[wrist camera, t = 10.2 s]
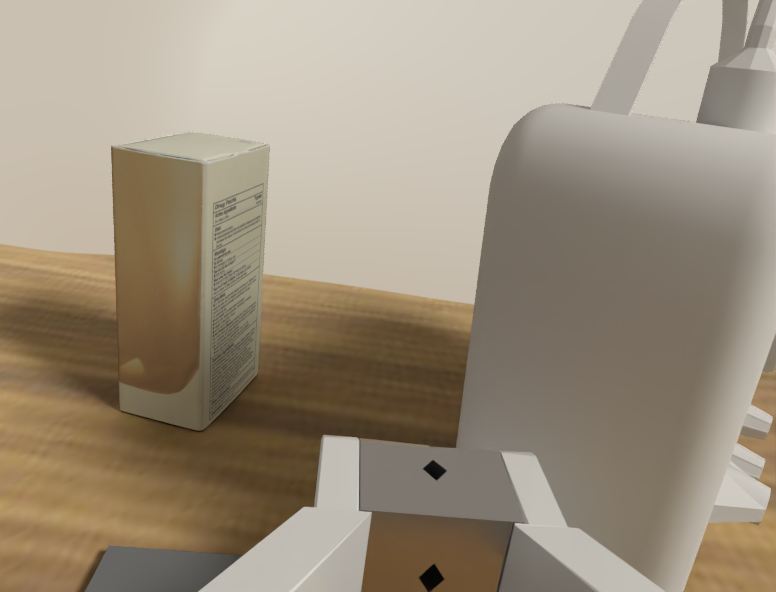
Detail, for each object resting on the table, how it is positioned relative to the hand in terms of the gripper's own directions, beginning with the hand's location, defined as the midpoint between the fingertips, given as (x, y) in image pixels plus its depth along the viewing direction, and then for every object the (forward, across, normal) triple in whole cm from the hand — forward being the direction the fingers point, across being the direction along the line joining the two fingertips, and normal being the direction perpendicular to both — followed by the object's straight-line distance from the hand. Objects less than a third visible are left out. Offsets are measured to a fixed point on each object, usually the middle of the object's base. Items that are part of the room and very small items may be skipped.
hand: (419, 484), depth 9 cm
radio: (+14, +11, -11) cm, 21 cm away
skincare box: (+21, -8, -11) cm, 25 cm away
